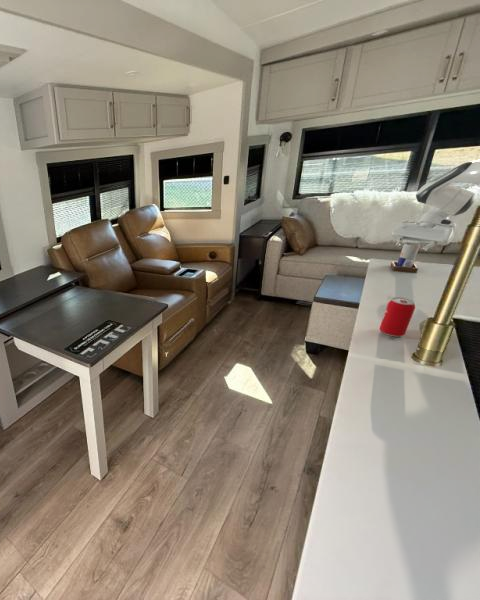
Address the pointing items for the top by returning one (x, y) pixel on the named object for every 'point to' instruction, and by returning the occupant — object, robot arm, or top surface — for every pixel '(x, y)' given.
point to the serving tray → (404, 268)
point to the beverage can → (397, 316)
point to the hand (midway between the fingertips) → (410, 247)
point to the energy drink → (408, 254)
